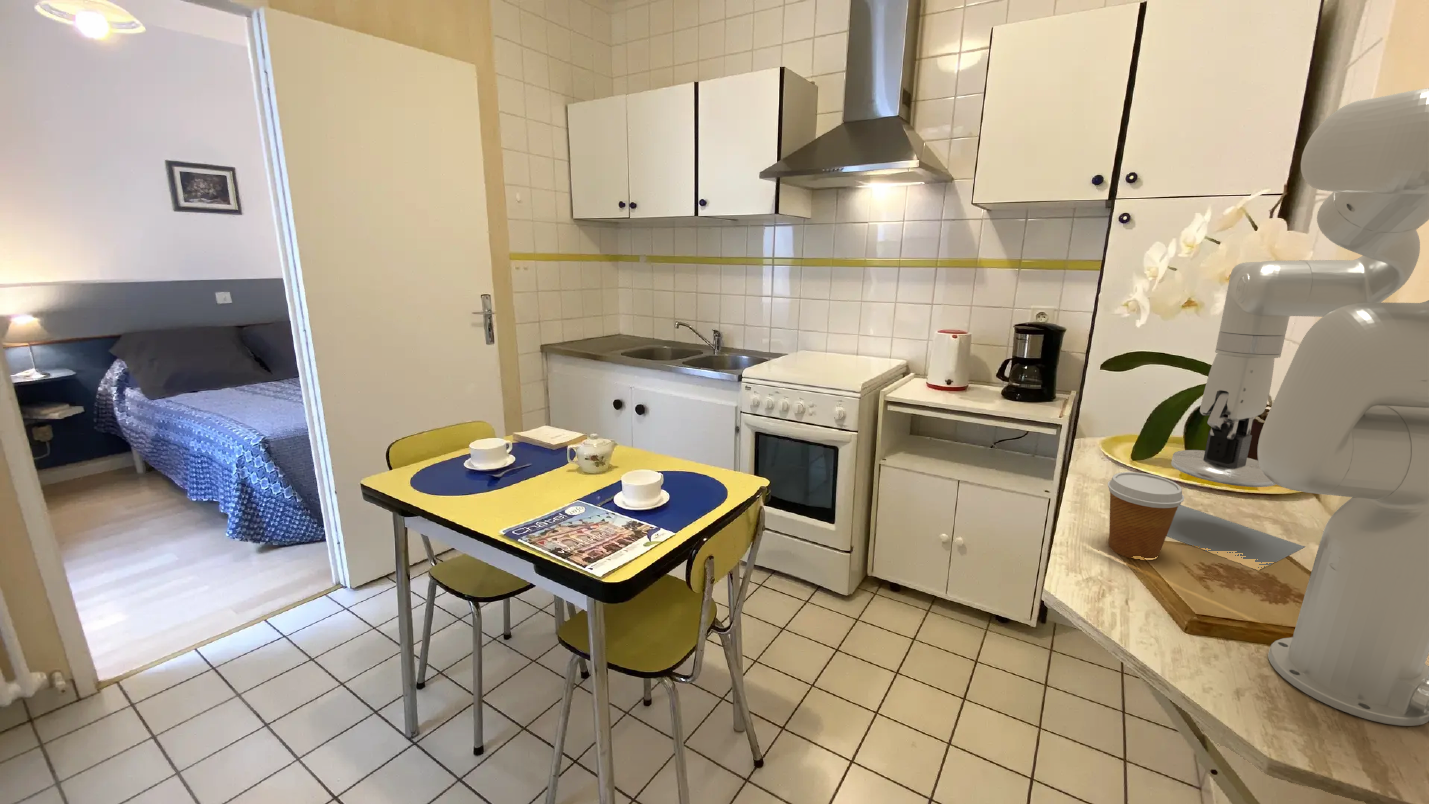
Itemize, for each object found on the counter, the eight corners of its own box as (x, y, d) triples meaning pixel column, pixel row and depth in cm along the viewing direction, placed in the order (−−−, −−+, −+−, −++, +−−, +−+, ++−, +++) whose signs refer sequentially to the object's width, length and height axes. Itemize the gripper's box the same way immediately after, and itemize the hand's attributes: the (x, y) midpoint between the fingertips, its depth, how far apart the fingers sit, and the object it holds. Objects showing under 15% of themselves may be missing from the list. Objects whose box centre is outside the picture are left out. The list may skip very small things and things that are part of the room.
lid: (1293, 478, 91) (1303, 438, 90) (1252, 492, 86) (1262, 450, 84) (1196, 454, 103) (1203, 418, 101) (1154, 465, 97) (1161, 427, 95)
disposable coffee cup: (1099, 560, 91) (1112, 488, 87) (1094, 533, 99) (1106, 467, 95) (1176, 575, 86) (1192, 500, 83) (1164, 546, 94) (1178, 477, 91)
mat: (1304, 550, 93) (1305, 546, 92) (1257, 574, 86) (1258, 570, 86) (1163, 502, 110) (1164, 499, 110) (1115, 519, 103) (1116, 516, 103)
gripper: (1244, 339, 96) (1222, 446, 101) (1191, 345, 89) (1170, 460, 93) (1305, 344, 90) (1278, 459, 94) (1253, 352, 83) (1227, 475, 87)
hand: (1224, 458), depth 94 cm, fingers closed on lid, 2 cm apart
